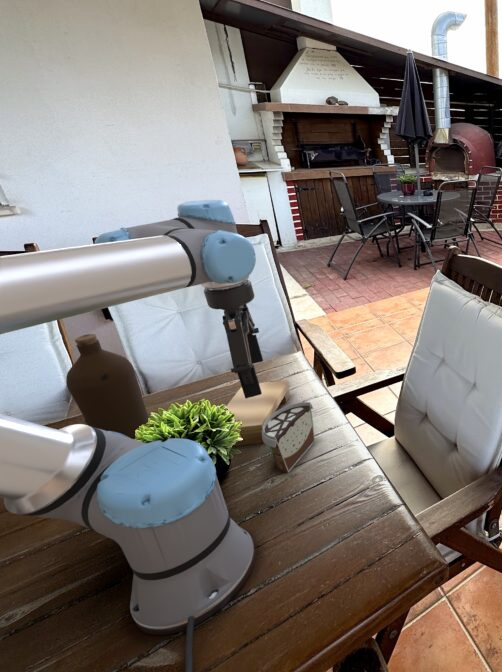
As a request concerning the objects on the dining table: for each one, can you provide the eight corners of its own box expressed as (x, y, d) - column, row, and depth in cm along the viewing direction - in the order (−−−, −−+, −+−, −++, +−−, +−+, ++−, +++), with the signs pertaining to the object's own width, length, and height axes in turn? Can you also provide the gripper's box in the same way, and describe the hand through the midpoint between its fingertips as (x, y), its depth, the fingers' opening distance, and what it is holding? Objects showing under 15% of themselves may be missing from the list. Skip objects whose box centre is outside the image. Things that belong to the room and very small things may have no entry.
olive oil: (165, 417, 99) (131, 327, 90) (122, 448, 89) (80, 350, 80) (126, 415, 100) (89, 325, 91) (79, 446, 90) (33, 348, 81)
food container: (294, 434, 93) (286, 398, 90) (319, 436, 93) (311, 400, 89) (256, 475, 82) (245, 436, 78) (283, 478, 81) (273, 439, 78)
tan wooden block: (266, 442, 91) (261, 424, 89) (212, 448, 89) (206, 430, 87) (292, 395, 107) (288, 380, 106) (247, 400, 106) (243, 384, 104)
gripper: (246, 302, 67) (275, 405, 75) (252, 262, 87) (275, 346, 95) (191, 312, 63) (228, 419, 71) (211, 268, 84) (237, 354, 92)
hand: (254, 377), depth 83 cm, fingers open, 13 cm apart
